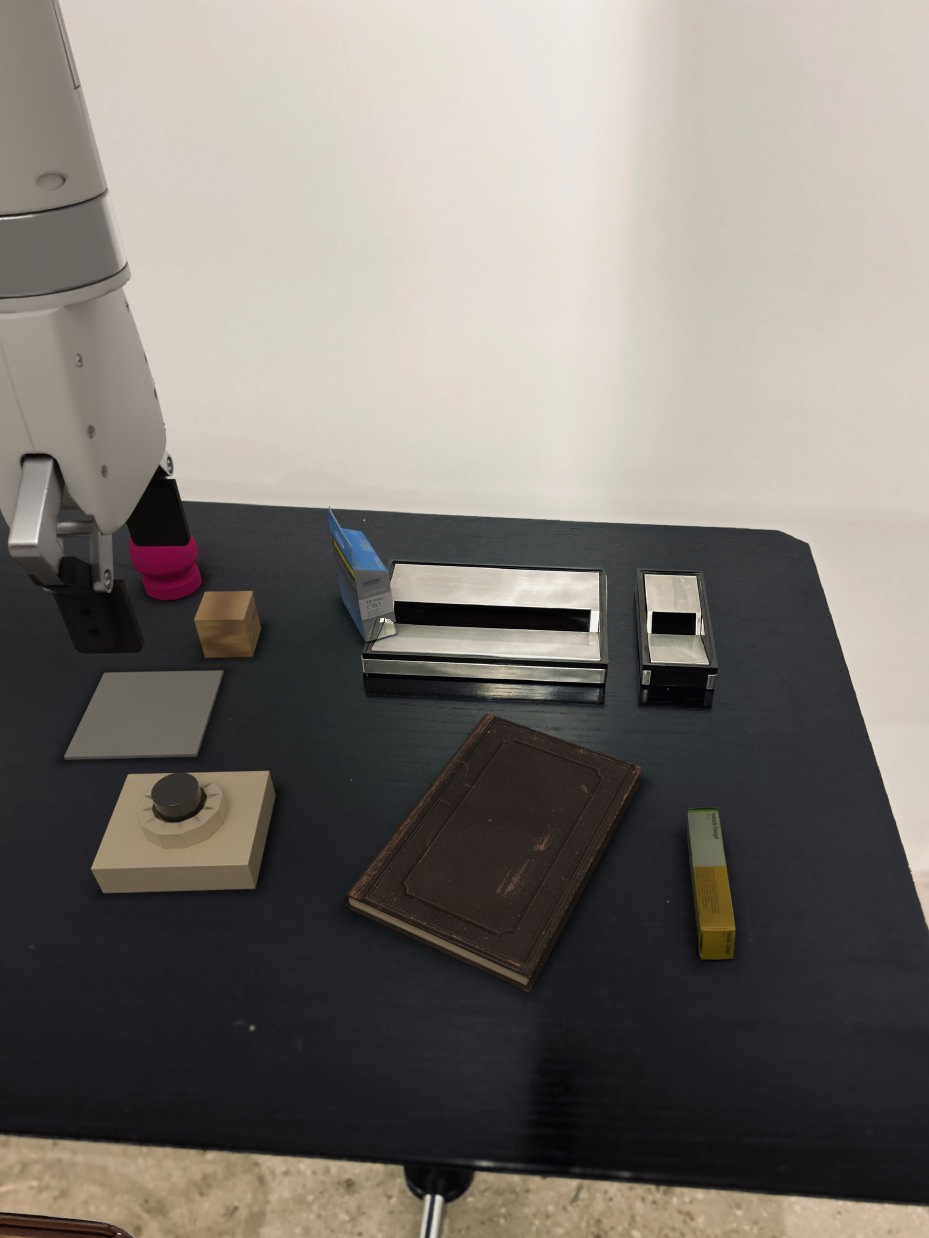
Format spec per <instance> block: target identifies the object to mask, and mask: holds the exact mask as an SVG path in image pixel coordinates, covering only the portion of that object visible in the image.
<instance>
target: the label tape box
mask: <svg viewBox="0 0 929 1238" xmlns="http://www.w3.org/2000/svg"><path fill="white" fill-rule="evenodd" d="M328 529H329V534H330V539H331V544H332V549H333V550H332V551H333V556H334V562H335V567H336V572H337V578H338V584H339V590H340V594H341V599H342V602H343V604H344V606H345V608H346V610H347V611H348V613H349V615H350V617H351V619H352V621H353V622H354V625H355V626H356V628H357V630H358V632H359V633H360V635H361V637H362V639H363V640H364V642H365V643H366V642H367V638H368V633H369V631H370V629H371V626H372V624H373V621H374V619H375V618H376V619H377V618H384V619H385V618H386V619H390V620H391V621H392V622H396V615H395V608H394V603H393V602H394V601H393V595H392V588H391V581H390V574H389V570H388V569H387V567H386V565H385V564H384V563H383V561H382V560H381V558H380V557H379V555H378V554H377V552H376V550H375V548H374V547H373V546H372V544H371V543H370V541H369V539H368V538H367V537H366V535H365V534H364V531H360V530H356V529H349V528H343V527H341V525H340V524H339V522H338V520H337V518H336V517H335V515H334V513H333V511H332V509H331V506H330V505H328Z"/></svg>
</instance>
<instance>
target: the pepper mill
mask: <svg viewBox="0 0 929 1238" xmlns="http://www.w3.org/2000/svg"><path fill="white" fill-rule="evenodd" d="M165 478H166V479H169V478H168V477H165ZM190 534H191V539H190V541H189V544H188V545H186V546H151V547H139V546H136V545H135V544H134V543H133V541H132V539H131V536H130V535H129V536H130V537H129V542H128V546H129V547H128V552H129V553H128V554H129V558H130V562H131V565H132V567H133V568H134V569H135V571H137V572H138V573H140V574H142V575H141V581H142V585H143V588H144V590H145V593H146V594H147V595H148V596H149V597H150V598H153V599H155V600H159V601H176V600H180V599H184V598H186V597H188V596H191V595H192V594H194V593H195V592H196V591H197V590H198V589H199V588H200V586H202V575H201V572H200V569H199V566H198V565H197V564H196V562H197V560H198V558H199V548H198V545H197V542H196V540H195V537H194V536H193V534H192V533H191V532H190Z"/></svg>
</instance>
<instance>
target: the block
mask: <svg viewBox="0 0 929 1238" xmlns="http://www.w3.org/2000/svg"><path fill="white" fill-rule="evenodd" d="M193 622H194V625H195V629H196V632H197V636H198V639H199V642H200V645H201V649H202V653H203V656H204V659H215V658H216V659H219V658H223V659H224V658H253V657H254V654H255V651H256V647H257V644H258V641H259V637H260V633H261V630H262V626H261V621H260V618H259V613H258V607H257V604H256V600H255V595H254V591H253V590H232V591H231V590H230V591H229V590H227V591H225V590H224V591H204V593H203V596H202V598H201V601H200V603H199V606H198V608H197V612H196V613H195V615H194V619H193Z"/></svg>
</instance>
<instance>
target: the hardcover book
mask: <svg viewBox="0 0 929 1238" xmlns="http://www.w3.org/2000/svg"><path fill="white" fill-rule="evenodd" d="M447 761H448V762H446V764H445V765H444V767H442V769H441V770H440V772H439V773H438V774H437V775H436V777H435V778H434V779H433V780H432V782H431V783H430V785H429V786H428V787H427V788H426V790H425V791H424V792H423V794H422V795H420V797H419V799H418V800H416V801H417V802H416V803H415V804H414V805H413V806H412V808H411V809H410V810H409V812H408V813H407V814H406V815H405V817H404V818H403V820H401V822H400V824H399V825H398V826H397V827H396V829H394V831H393V832H392V834H391V835H390V836H389V838H388V839H387V840H386V841H385V842H384V844H383V845H382V847H381V848H380V849H379V850H378V851H377V853H376V854H375V856H374V857H373V858H372V859H371V861H370V862H369V864H367V866H366V867H365V868H364V869H363V871H362V872H361V873H360V875H359V876H358V878H357V879H356V880H355V882H354V883H352V885H351V886H350V888H349V889H348V890H347V892H346V893H345V894H344V901H345V905H346V907H347V908H348V909H349V910H350V911H351V912H353V913H354V914H357V915H358V916H361V917H364V918H366V919H367V920H370V921H372V922H374V923H377V924H379V925H380V926H382V927H385V928H387V929H389V930H392V931H393V932H395V933H399V934H400V935H402V936H405V937H406V938H409V939H411V940H413V941H415V942H417V943H420V944H421V945H423V946H426V947H428V948H430V949H432V950H435V951H437V952H440V953H441V954H443V955H446V956H448V957H450V958H452V959H455V960H457V961H459V962H461V963H463V964H465V965H468V966H470V967H472V968H474V969H476V970H478V971H480V972H482V973H484V974H486V975H489V976H491V977H493V978H495V979H498V980H500V981H502V982H504V983H506V984H509V985H511V986H513V987H515V988H517V989H519V990H521V991H524V992H526V993H528V994H530V992H531V990H532V989H533V986H535V983H536V981H537V979H538V977H539V976H540V973H541V972H542V970H543V968H544V966H545V964H546V962H547V960H548V958H549V957H550V955H551V954H552V950H553V949H554V947H555V945H556V943H557V941H558V939H559V938H560V936H561V934H562V932H563V930H564V928H565V926H566V924H567V922H568V920H569V919H570V917H571V915H572V914H573V912H574V909H575V908H576V906H577V904H578V902H579V900H580V898H581V896H582V894H583V892H584V890H585V888H586V886H587V885H588V883H589V881H590V879H591V877H592V875H593V873H594V872H595V869H596V867H597V865H598V864H599V863H600V860H601V859H602V856H603V855H604V852H605V850H606V849H607V847H608V845H609V843H610V841H611V839H612V838H613V836H614V833H615V832H616V830H617V828H618V826H619V824H620V822H621V820H622V818H623V817H624V815H625V813H626V811H627V809H628V807H629V805H630V804H631V801H632V800H633V798H634V796H635V794H636V792H637V790H638V788H639V786H640V784H641V782H640V781H638V779H639V776H640V774H641V772H642V771H643V767H642V766H639V765H637V764H634V763H630V762H628V761H625V760H623V759H619V758H616V757H615V756H611V755H609V754H608V755H607V754H605V753H602V752H599V751H596V750H594V749H592V748H588V747H585V746H582V745H579V744H577V743H574V742H571V741H568V740H566V739H562V738H559V737H557V736H554V735H551V734H549V733H545V732H543V731H540V730H537V729H534V728H531V727H529V726H526V725H523V724H521V723H517V722H514V721H512V720H508V719H506V718H504V717H500V716H497V715H495V714H492V713H485V714H483V716H482V717H481V718H480V720H479V721H478V723H477V724H476V725H475V726H474V727H473V729H472V730H471V732H470V733H469V734H468V735H467V737H466V738H465V739H464V740H463V742H462V743H461V744H460V746H458V748H457V749H456V751H455V752H454V753H453V754H452V756H451V757H450V758H449V759H448V760H447Z"/></svg>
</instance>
